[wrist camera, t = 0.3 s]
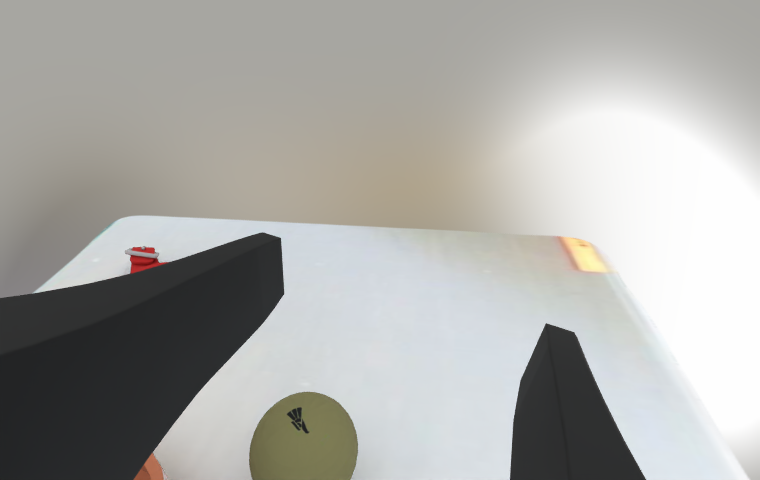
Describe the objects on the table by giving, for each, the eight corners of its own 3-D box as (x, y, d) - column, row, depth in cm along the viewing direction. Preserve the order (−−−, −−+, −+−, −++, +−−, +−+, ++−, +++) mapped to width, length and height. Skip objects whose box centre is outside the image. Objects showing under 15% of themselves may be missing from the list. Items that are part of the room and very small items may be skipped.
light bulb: (247, 518, 24) (214, 433, 18) (308, 443, 28) (298, 353, 22) (316, 585, 21) (304, 511, 16) (373, 492, 25) (380, 406, 20)
